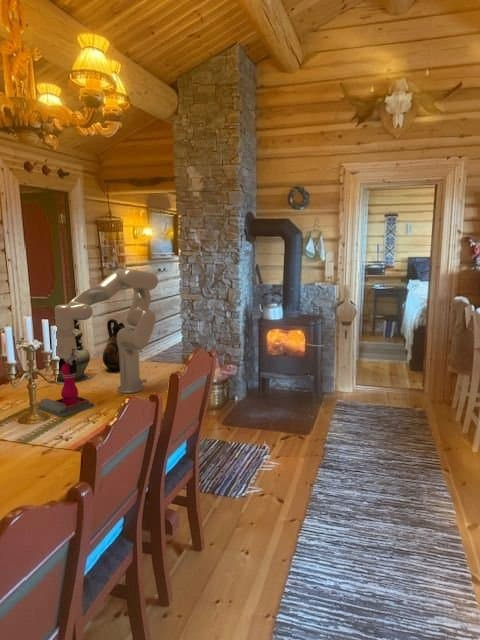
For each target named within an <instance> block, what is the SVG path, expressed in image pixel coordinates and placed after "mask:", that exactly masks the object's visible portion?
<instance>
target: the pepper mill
mask: <svg viewBox="0 0 480 640" xmlns="http://www.w3.org/2000/svg"><path fill="white" fill-rule="evenodd" d="M69 365H70V362H69V360H66V363H65V364H63V365H62V367H61V371H62V372H63V373H64V374H63V378H64V384H63V387H62V389H61V393H60V395H61V397H62V398H64V399H63V403H64V404H66V405H71V404H74V403H77V402H78V401H77V398H76V397H77V396H78V395H79V390H78V389H79V388H77V386H76V384H75V383H76V382H74V376H75V375H74V374H75V373H73V374H70V367H69Z"/></svg>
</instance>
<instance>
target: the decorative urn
mask: <svg viewBox="0 0 480 640" xmlns="http://www.w3.org/2000/svg"><path fill="white" fill-rule="evenodd" d="M53 321H55V317H54V318H53ZM80 325H81V322H79V321H78V320H74V332H75V340H76V346H77V354H78V355H79V359H78V362H77V364H76V365H77V373H75V374H74V375H75V376H74V383H76V382H77V383H78V382H82V381H83V380H84V381H85V380H87V379H91V378H92V376H91V375H88V374H87V375H86V374H85V371H86V370H87V367H88V365H89V363H90V361H91V360H90V358H91V353H90V352H89V350H88V349H87V348H86V347H85V346H84V345H83V339H82V337H83V331H82V329H81V328H80ZM53 326H56V323H54V324H53ZM71 358H72V357H71ZM68 360H69V359H68ZM65 361H66V359H65ZM72 361H73V359H72ZM63 374H64V373H63V372H62V371H59V374H57V376H58V377H57V382H56V384H60V385H61V384H62V385H64V378H63ZM48 380H49V381H50V382H52V381H53V377H50V378H48Z"/></svg>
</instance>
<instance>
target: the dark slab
mask: <svg viewBox="0 0 480 640" xmlns="http://www.w3.org/2000/svg"><path fill="white" fill-rule="evenodd" d="M76 398H77V401H78V402H77V403H74V404H71V405H66V404H64V403H63V399H64V398H63V397H62V398H58V399H50V398H47V397H45V398H42V399H40V404H39V405H37V409H38V408H39V409H38V410H40V411H44V412H46V413H49V414H51V415H54V416H56V417H57V416H58V417H59V418H60V417H61V418H64V417H68V416H71V415H74V414H76V413H80V412H82V411H85V410H88V409H90V408H94V407H95V403H93V402H90V401H89V400H90V399H88V398H85V397H82V396H78V395H77V397H76Z"/></svg>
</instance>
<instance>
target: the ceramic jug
mask: <svg viewBox="0 0 480 640" xmlns="http://www.w3.org/2000/svg"><path fill="white" fill-rule="evenodd" d="M112 324H113V326H112ZM106 327H107V332H108V336H109V338H108V342H107V344H106V345H105V347H104V349H103V352H102V363H103V364H104V366H105V367H106V368H107V371H108V372H110V373H120V362H119V349H118V344H117V333H118V332H119V331H120V330H121V329H123V328H126V326H125V324H124V323H123V322H120V323H118V321H117V320H116V319H114V318H111V319H108V321H107V325H106Z"/></svg>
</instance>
